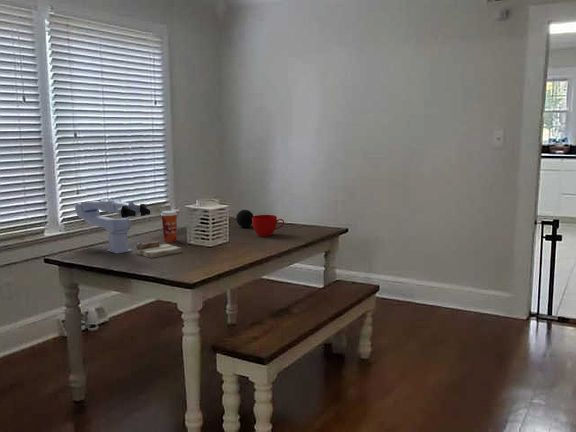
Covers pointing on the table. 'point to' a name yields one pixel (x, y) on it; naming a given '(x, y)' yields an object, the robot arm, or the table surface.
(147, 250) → the cream flat block
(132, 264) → the table surface
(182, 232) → the table surface
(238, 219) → the decorative ball
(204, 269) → the table surface
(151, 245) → the folding leg
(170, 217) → the coffee cup
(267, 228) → the ceramic cup
